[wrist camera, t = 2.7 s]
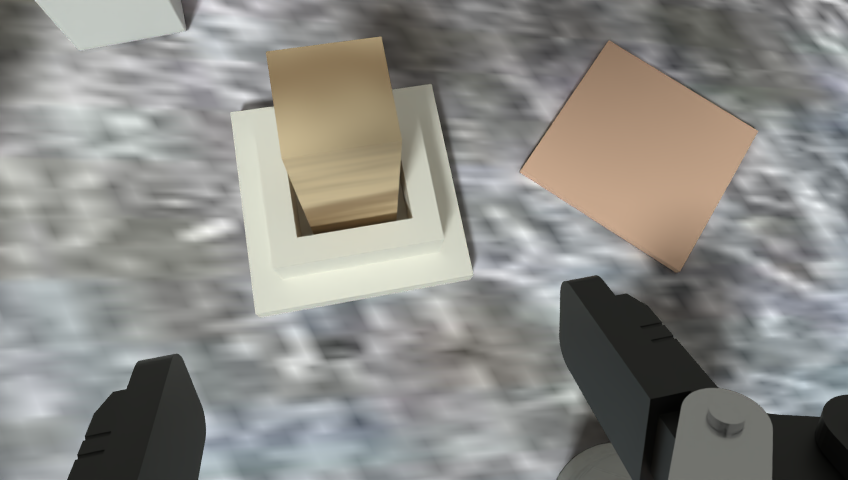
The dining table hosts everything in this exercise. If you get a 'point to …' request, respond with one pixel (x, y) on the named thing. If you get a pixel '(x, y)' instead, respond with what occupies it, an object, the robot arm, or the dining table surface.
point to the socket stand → (358, 247)
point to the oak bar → (338, 132)
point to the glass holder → (596, 465)
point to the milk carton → (114, 20)
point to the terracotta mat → (641, 155)
